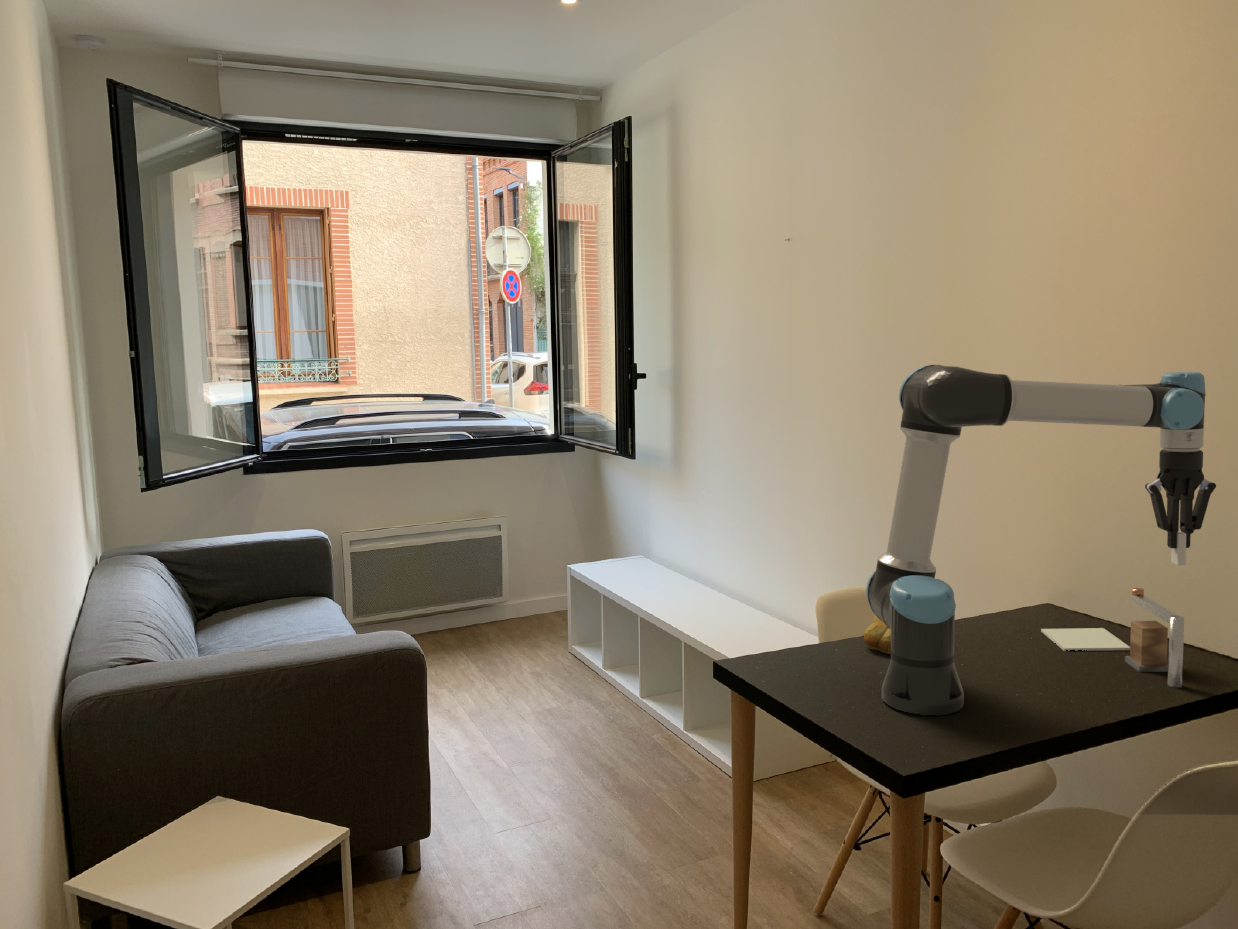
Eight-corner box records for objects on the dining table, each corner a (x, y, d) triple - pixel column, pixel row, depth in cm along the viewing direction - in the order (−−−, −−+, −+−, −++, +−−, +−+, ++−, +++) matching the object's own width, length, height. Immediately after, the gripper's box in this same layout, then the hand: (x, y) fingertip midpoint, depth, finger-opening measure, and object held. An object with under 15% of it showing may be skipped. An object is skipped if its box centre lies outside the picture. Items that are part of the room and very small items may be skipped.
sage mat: (1064, 651, 204) (1064, 648, 204) (1041, 631, 218) (1041, 629, 218) (1130, 650, 203) (1130, 647, 203) (1103, 630, 217) (1103, 628, 217)
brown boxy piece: (1139, 672, 190) (1140, 629, 189) (1124, 661, 197) (1125, 620, 195) (1171, 671, 190) (1173, 629, 189) (1156, 661, 196) (1157, 619, 195)
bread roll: (929, 653, 207) (929, 618, 206) (901, 663, 201) (901, 627, 200) (883, 639, 217) (883, 606, 216) (855, 648, 212) (855, 614, 211)
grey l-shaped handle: (1171, 687, 181) (1174, 613, 179) (1127, 655, 200) (1129, 588, 198) (1184, 687, 181) (1187, 613, 179) (1139, 655, 199) (1141, 587, 197)
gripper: (1156, 452, 184) (1153, 569, 187) (1225, 449, 183) (1222, 567, 186) (1138, 448, 191) (1136, 560, 194) (1205, 445, 190) (1201, 558, 193)
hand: (1178, 563), depth 190 cm, fingers closed
